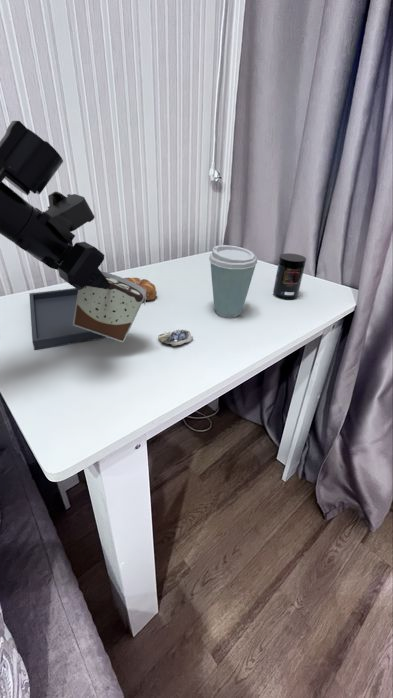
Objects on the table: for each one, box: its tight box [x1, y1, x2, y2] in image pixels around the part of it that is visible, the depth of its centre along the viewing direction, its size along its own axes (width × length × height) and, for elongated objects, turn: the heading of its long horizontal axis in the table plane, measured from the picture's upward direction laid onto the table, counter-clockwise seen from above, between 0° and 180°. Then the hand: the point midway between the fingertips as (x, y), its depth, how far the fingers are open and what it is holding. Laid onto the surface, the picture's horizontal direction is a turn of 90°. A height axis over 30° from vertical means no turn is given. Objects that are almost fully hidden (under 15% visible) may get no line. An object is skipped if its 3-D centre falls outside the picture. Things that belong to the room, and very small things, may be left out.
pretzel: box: [123, 277, 158, 301], centre depth 85 cm, size 12×11×4 cm
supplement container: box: [272, 252, 307, 300], centre depth 87 cm, size 7×7×10 cm
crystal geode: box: [157, 329, 194, 347], centre depth 68 cm, size 7×8×2 cm
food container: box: [73, 270, 147, 343], centre depth 61 cm, size 12×6×10 cm, turn 86°
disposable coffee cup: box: [208, 244, 258, 319], centre depth 76 cm, size 11×11×15 cm
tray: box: [28, 287, 107, 351], centre depth 74 cm, size 17×24×2 cm
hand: (100, 281), depth 58 cm, fingers closed on food container, 5 cm apart
